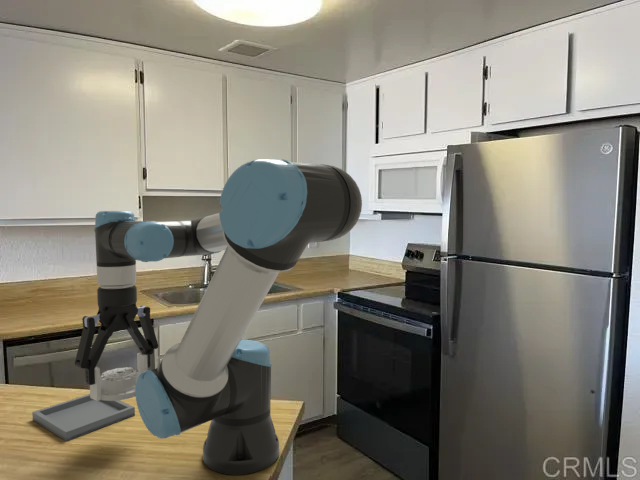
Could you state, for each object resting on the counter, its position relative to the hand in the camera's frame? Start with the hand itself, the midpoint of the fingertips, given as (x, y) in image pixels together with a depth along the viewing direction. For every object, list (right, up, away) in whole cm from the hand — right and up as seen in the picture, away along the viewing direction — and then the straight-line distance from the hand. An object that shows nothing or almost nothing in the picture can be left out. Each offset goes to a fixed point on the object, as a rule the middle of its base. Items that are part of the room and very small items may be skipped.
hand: (120, 390), depth 101 cm
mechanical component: (0, -1, 0) cm, 1 cm away
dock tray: (-13, -10, +12) cm, 21 cm away
